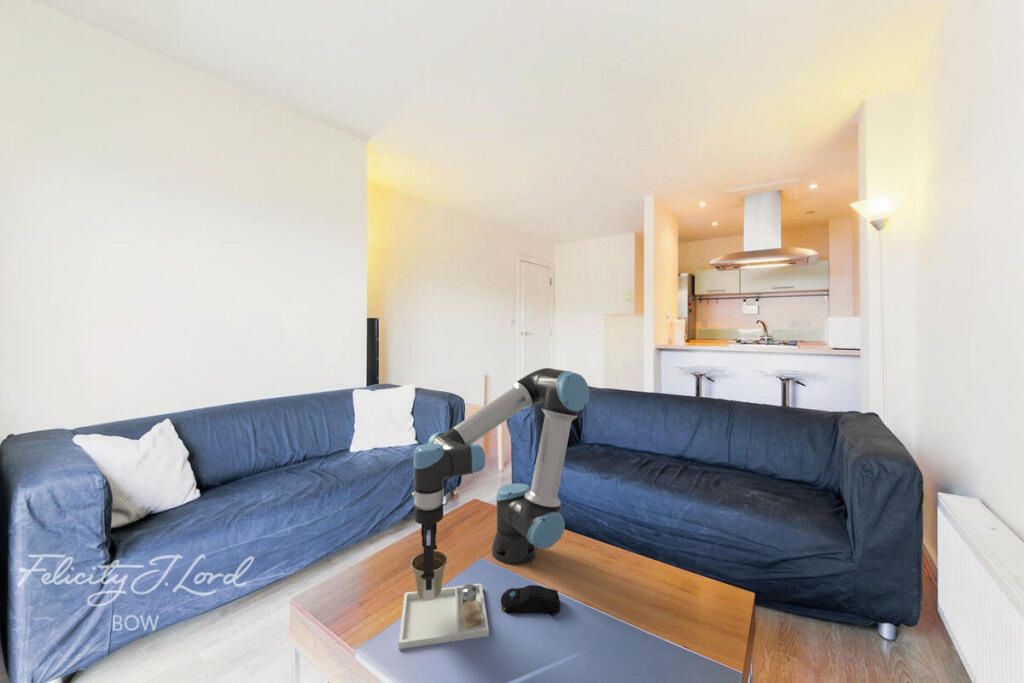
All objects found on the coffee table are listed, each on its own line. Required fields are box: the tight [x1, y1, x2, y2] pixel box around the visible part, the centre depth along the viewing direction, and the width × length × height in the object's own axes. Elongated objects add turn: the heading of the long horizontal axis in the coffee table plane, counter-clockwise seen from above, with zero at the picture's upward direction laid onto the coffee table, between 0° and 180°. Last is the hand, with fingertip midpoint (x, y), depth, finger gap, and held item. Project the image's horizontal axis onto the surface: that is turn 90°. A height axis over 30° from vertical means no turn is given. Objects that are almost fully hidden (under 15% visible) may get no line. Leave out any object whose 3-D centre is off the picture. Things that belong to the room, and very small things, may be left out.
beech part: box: [461, 600, 481, 630], centre depth 106 cm, size 4×4×4 cm
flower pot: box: [410, 550, 448, 599], centre depth 107 cm, size 9×9×9 cm
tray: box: [397, 582, 490, 650], centre depth 108 cm, size 22×18×2 cm
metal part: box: [462, 584, 476, 604], centre depth 113 cm, size 4×4×4 cm
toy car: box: [500, 584, 561, 617], centre depth 112 cm, size 8×17×5 cm, turn 88°
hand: (429, 586), depth 107 cm, fingers closed on flower pot, 9 cm apart
